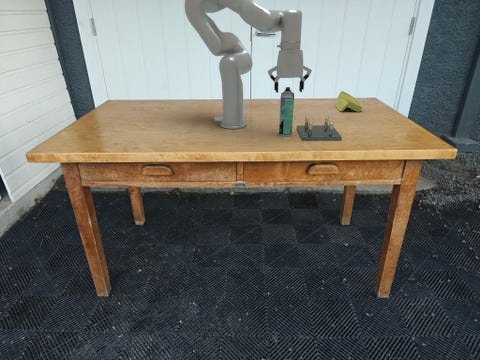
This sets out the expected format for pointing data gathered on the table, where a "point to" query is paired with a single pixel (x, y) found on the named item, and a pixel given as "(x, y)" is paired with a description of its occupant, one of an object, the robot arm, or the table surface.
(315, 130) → the post plate
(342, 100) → the plastic component
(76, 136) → the table surface
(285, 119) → the spray can
